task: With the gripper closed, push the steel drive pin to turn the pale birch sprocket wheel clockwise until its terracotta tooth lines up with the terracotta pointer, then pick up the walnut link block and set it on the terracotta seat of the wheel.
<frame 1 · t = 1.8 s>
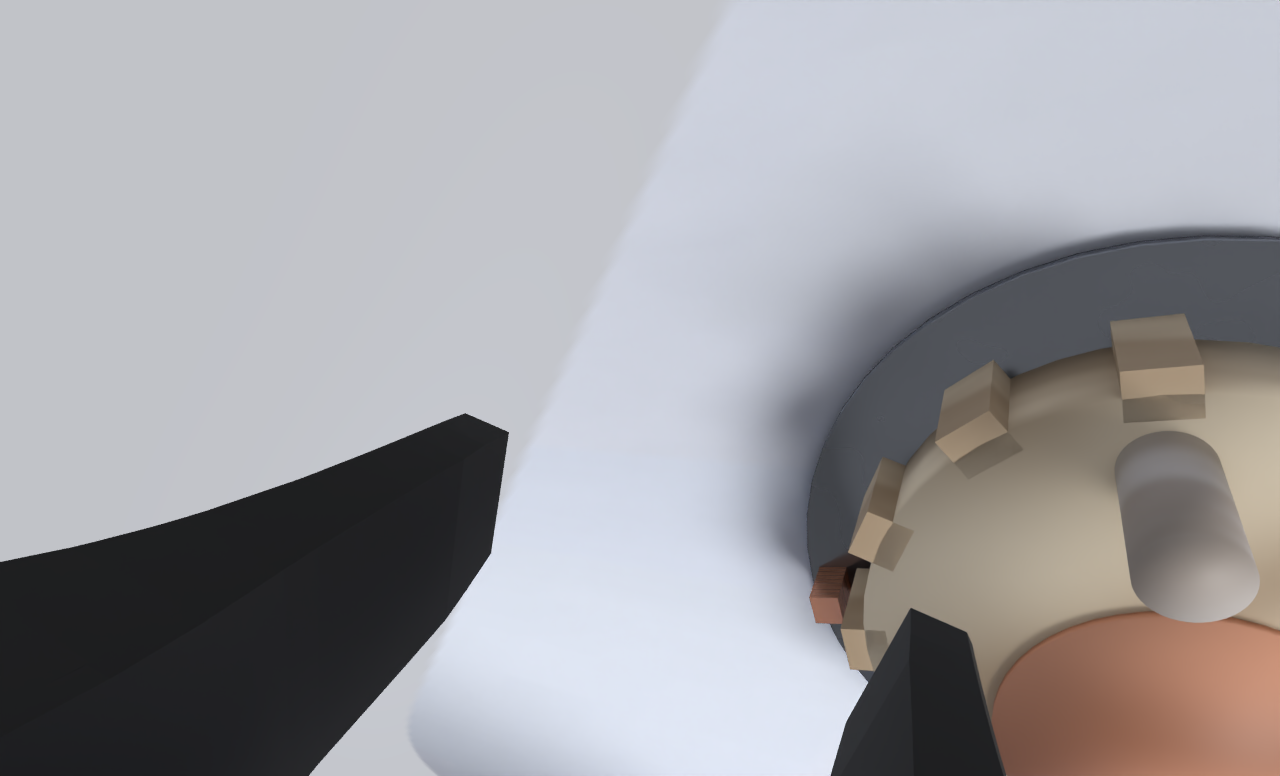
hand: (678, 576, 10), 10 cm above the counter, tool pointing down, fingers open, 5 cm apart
sprocket: (1181, 682, 16), point 3 cm above the counter, hinge at 0.0°
base plate: (1160, 576, 19), on the counter
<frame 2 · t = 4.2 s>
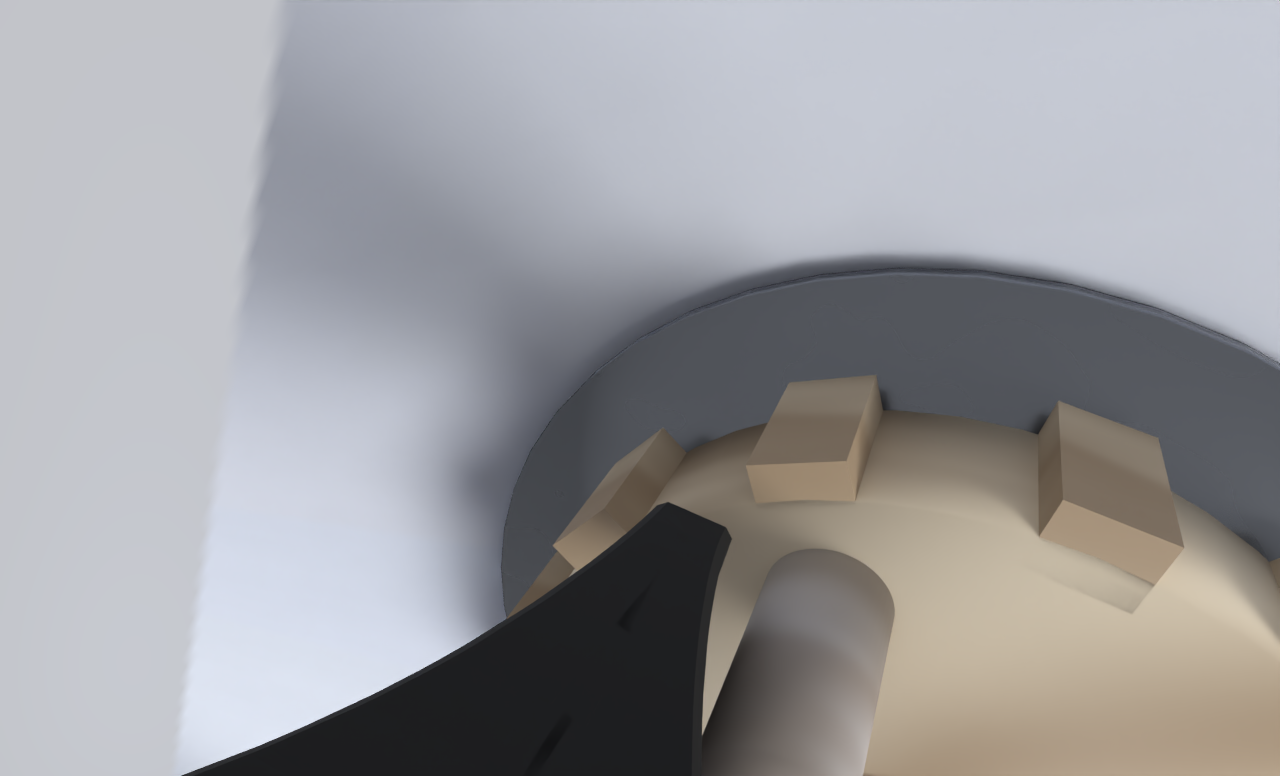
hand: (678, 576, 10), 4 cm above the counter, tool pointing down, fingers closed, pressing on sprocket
base plate: (911, 703, 14), on the counter
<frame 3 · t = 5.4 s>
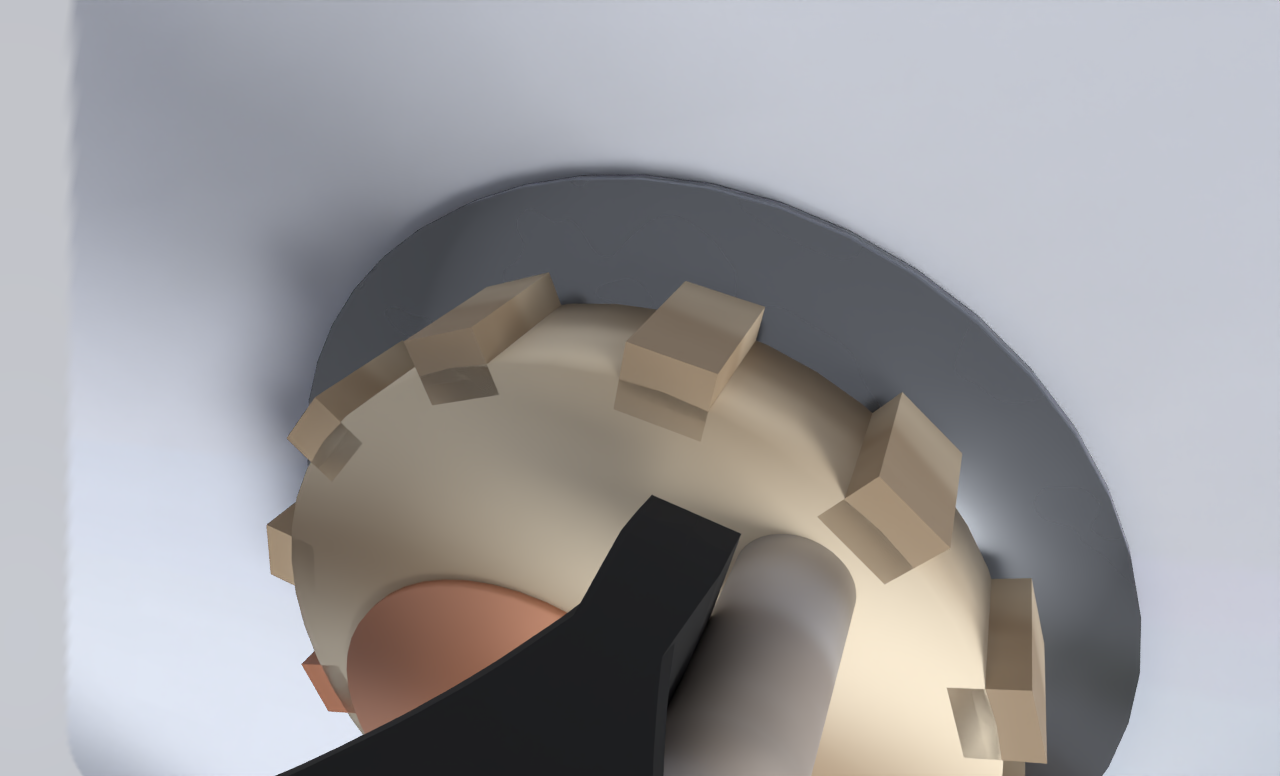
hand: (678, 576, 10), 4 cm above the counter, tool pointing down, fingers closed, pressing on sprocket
sprocket: (585, 722, 13), point 3 cm above the counter, hinge at -57.3°, touching gripper
base plate: (658, 592, 16), on the counter
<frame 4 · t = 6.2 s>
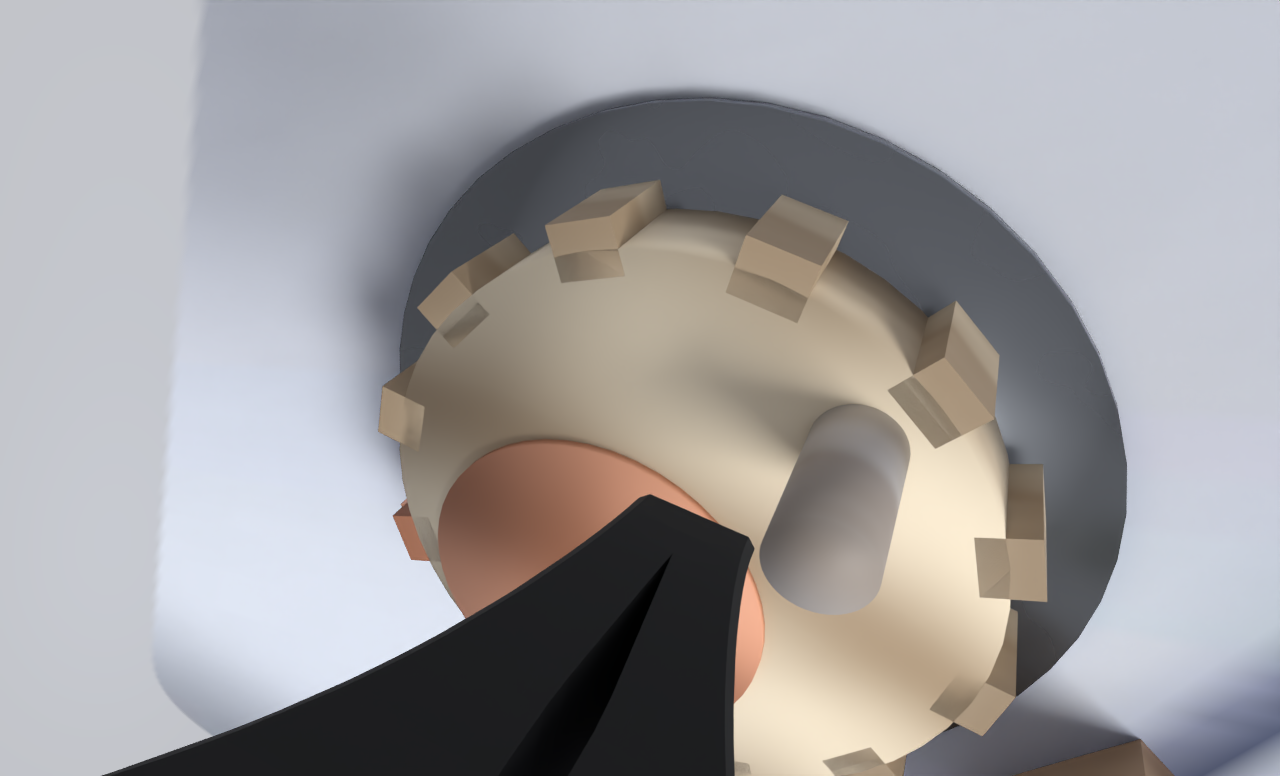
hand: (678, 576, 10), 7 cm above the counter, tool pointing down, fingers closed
sprocket: (658, 565, 16), point 3 cm above the counter, hinge at -63.0°
base plate: (711, 472, 18), on the counter
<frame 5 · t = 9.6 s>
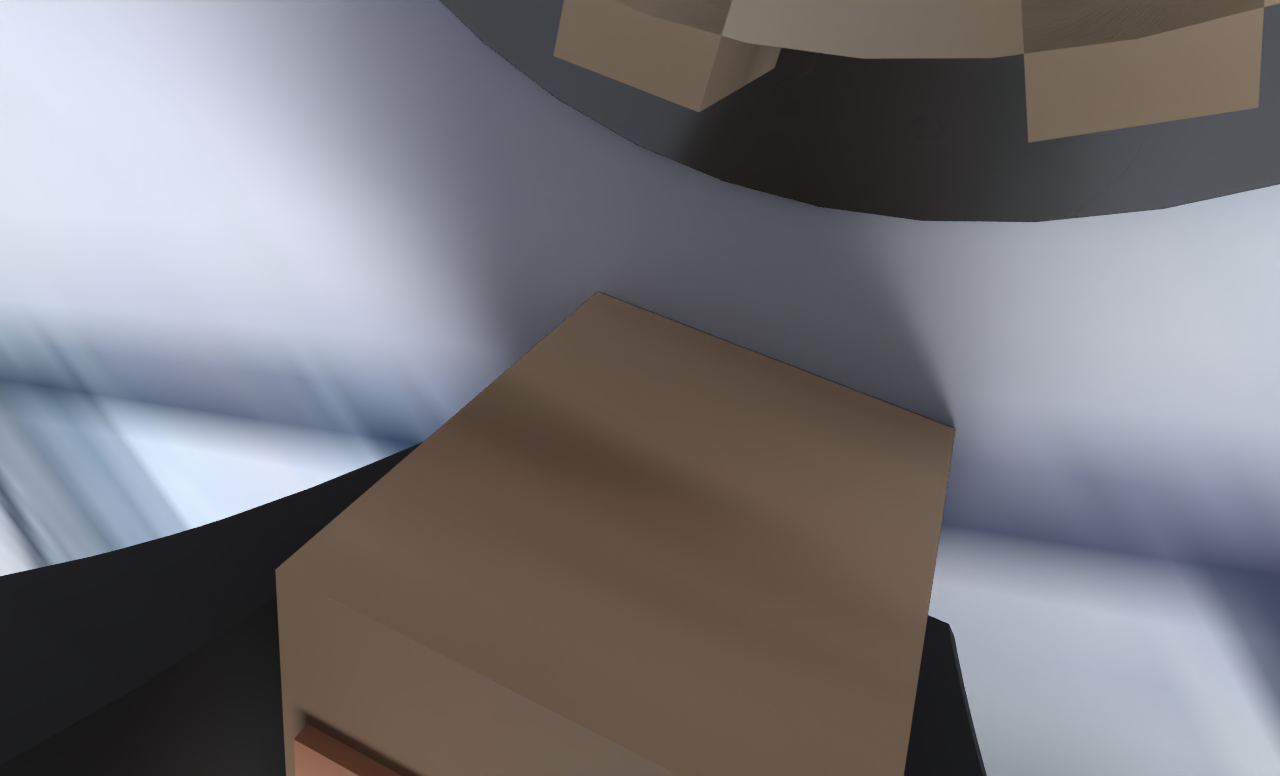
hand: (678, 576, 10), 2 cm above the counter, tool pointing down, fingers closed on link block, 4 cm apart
link block: (719, 498, 11), on the counter, touching gripper
when the fingers open (6 cm above the counter, at t = 12.9 s): link block stays where it is, resting on sprocket.
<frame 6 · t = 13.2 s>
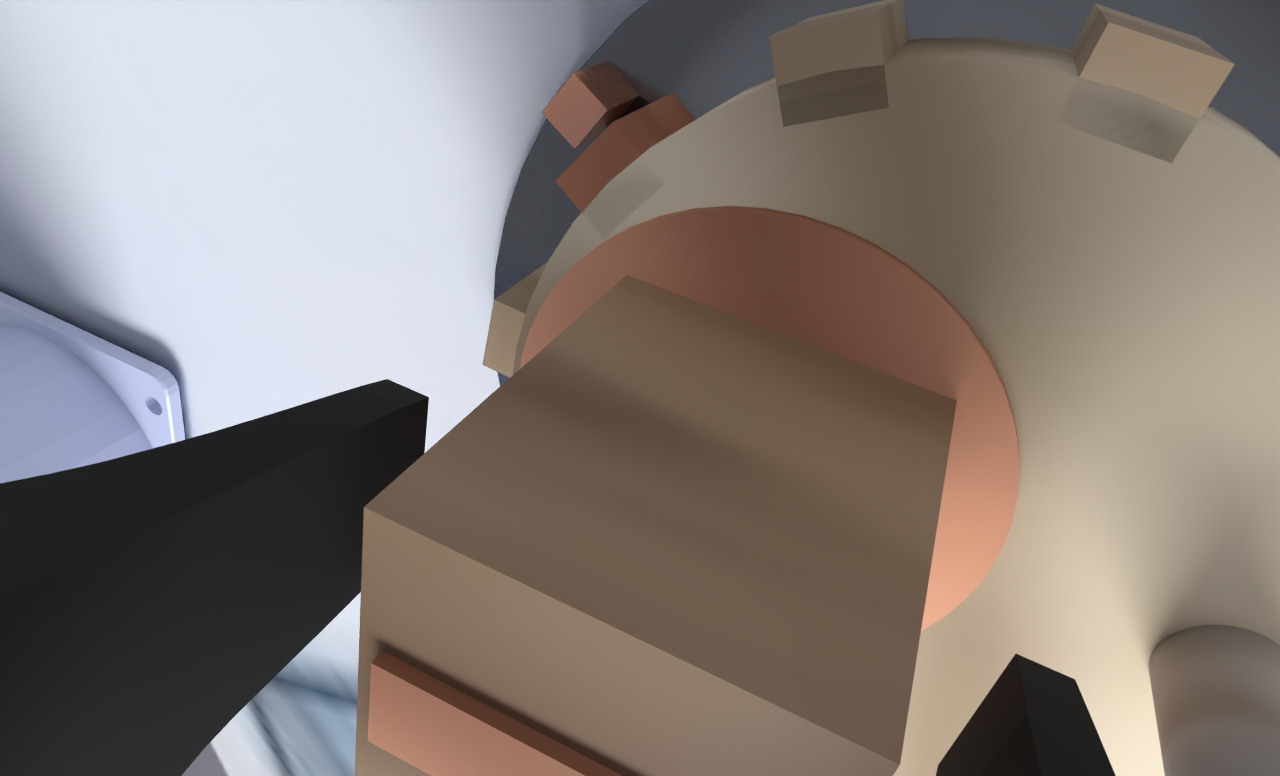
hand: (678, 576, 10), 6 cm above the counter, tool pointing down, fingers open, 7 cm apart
sprocket: (886, 537, 11), point 3 cm above the counter, hinge at -63.1°, touching link block
link block: (737, 467, 12), point 3 cm above the counter, touching sprocket
base plate: (913, 422, 14), on the counter
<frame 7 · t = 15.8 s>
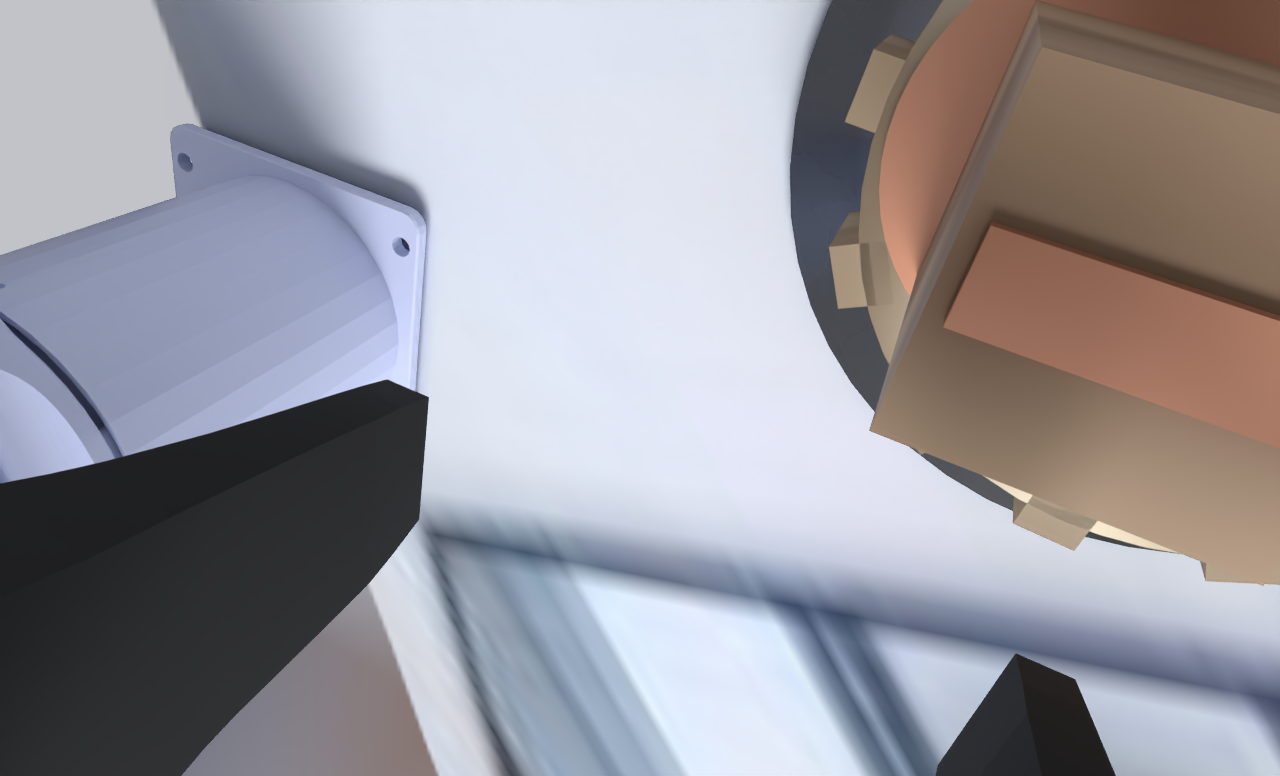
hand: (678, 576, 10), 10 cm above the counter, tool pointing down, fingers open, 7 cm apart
sprocket: (1273, 244, 12), point 3 cm above the counter, hinge at -63.1°, touching link block
link block: (1115, 195, 13), point 3 cm above the counter, touching sprocket
base plate: (1230, 187, 15), on the counter
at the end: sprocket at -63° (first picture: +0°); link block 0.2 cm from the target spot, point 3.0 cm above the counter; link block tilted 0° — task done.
